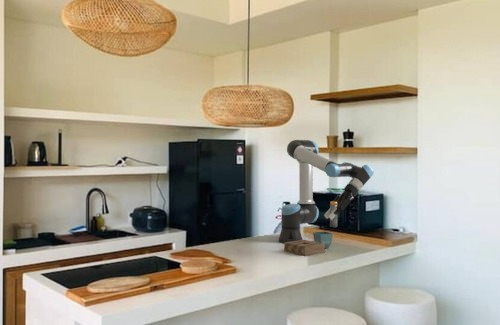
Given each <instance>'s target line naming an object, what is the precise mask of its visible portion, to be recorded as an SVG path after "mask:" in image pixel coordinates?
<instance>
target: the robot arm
mask: <svg viewBox="0 0 500 325" xmlns="http://www.w3.org/2000/svg"><path fill="white" fill-rule="evenodd" d="M286 152H287V155H288V156H289V157H291V158H293V159H294V160H296V162H297V163H298V164H299V165H298V168H299V169H298V170H299V174H298V175H299V176H298V177H299V192H298V193H299V199H298V201H297V202H296V203H289V204H285V205H283V206H282V207H281V230H280V233H279V236H278V242H279V243H282V244H284V243H285V242H292V241H299V240H304V239H303V237H302V232H301V225H304V224H312V223H315V222H316V221H317V219H318V218H319V217H320V216H319V215H320V214H319V213H320V211H319V208H318V207H317V206H316V201H314V198H313V196H314V194H313V192H314V188H313V186H314V183H313V181H314V179H313V176H314V175H313V174H314V173H313V172H314V171H313V170H314V169H313V167H314V168H317V169H318V170H320V171H322V172H324V173H325V174H326V176H328V177H330V178H345V177H346V178H347V177H348V178H351V179H350V180H349V182H348V183H347V184H346V185H345V187H344V189H343V190H344V191H343V192H342V193H337V196H336V197H335V198H334V199H333V200H332V201H336V202H338V207H336V208H335V209H334V210H333V211H332V213H331V214H330V208H329V209H328V210H327V211H326V212H325V213H324V215H323V216H324V217H325V219H327V220H328V219H329V220H330V219H331V220H332V219H333V218H334V217H335V216H336V215H337V216H338V213H339V212H341V211H344V210H345V209H346V208H347V207H348V206H349V204H350V203H351V202H352V201H353V200H355V197H356V196H357V194H358V193H359V192H360V191H361V190H362V188H363V187H364V186H365V185H366V184H367V182H368V181H369V180H370V179H371V177H372V176H373V175H374V170H373V168H372V167H371V166H370V165H368V164H363V165H362V166H361V167H360V166H358V165H356V164H353V163H351V162H347V161H344V162H343V163H336V162H334V161H332V160H330V159H328V158H326V157H324V156H322V155H320V154H319V146H318V144H317V143H316V142H315V141H314V140H309V139H294V140H291V141H289V143H288V144H287V146H286Z"/></svg>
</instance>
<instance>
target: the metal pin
mask: <svg viewBox="0 0 500 325" xmlns="http://www.w3.org/2000/svg"><path fill="white" fill-rule="evenodd" d="M329 207H330V208H329V209H330V214H331V213H332V211H333V210H334V209H335V208H336V207H338V202H336V201H333V200H331V201H330V204H329ZM329 227H330V228H337V227H338V214H337V215H336V216H335V217H334V218H333V219H332V220H331V219H330V218H329Z"/></svg>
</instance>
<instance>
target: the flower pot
mask: <svg viewBox="0 0 500 325" xmlns="http://www.w3.org/2000/svg"><path fill="white" fill-rule="evenodd" d="M312 233H313V242H318V243H324V244H325V249H329V248H330V247H331V245H332V242H333V236H334V233H332V232H328V231H314V232H312Z"/></svg>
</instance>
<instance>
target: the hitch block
mask: <svg viewBox="0 0 500 325" xmlns="http://www.w3.org/2000/svg"><path fill="white" fill-rule="evenodd" d="M283 244H284V248H283V251H284V252H285V253H289V254H295V255H299V256H303V257H308V256H313V255H319V254H323V253H325V250H326V248H325V244H324V243H318V242H314V240H313V241H312V240H308V239H307V240H306V239H303V240H299V241H292V242H285V243H283Z"/></svg>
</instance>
